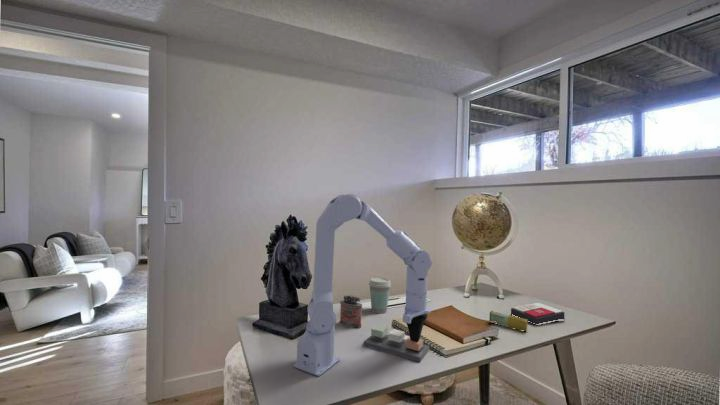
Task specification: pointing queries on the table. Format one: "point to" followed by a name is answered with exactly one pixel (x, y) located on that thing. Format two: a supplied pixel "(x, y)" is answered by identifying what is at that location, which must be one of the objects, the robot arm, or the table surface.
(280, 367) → the table surface
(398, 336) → the key ivory
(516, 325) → the medication box
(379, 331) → the key sage
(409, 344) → the key terracotta
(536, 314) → the white and crimson box
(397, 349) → the dark grey base plate
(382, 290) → the coffee cup
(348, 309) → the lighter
